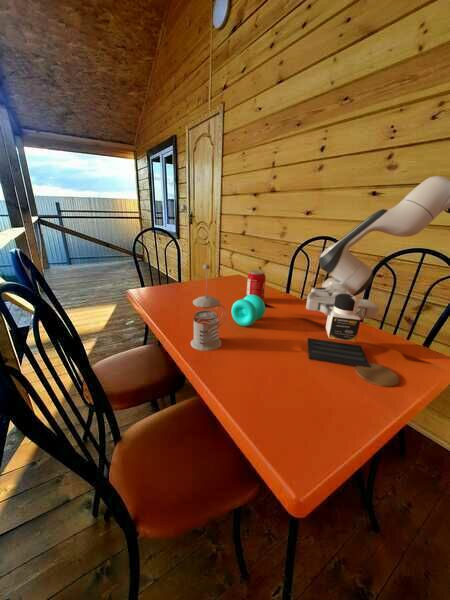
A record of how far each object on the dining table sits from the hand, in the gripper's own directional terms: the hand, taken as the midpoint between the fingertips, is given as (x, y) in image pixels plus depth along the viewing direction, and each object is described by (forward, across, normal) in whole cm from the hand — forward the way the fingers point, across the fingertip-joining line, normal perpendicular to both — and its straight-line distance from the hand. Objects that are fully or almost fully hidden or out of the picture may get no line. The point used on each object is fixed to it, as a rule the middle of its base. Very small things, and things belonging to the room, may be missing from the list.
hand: (343, 314), depth 72 cm
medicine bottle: (0, 0, -7) cm, 7 cm away
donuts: (-14, +30, -13) cm, 35 cm away
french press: (+5, +38, -13) cm, 41 cm away
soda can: (-35, +30, -13) cm, 48 cm away
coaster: (+8, -9, -13) cm, 17 cm away
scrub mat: (-1, 0, -13) cm, 13 cm away
